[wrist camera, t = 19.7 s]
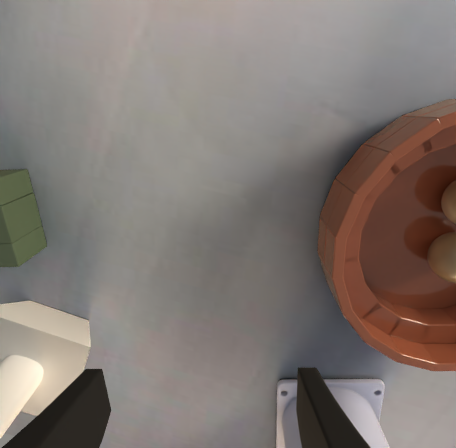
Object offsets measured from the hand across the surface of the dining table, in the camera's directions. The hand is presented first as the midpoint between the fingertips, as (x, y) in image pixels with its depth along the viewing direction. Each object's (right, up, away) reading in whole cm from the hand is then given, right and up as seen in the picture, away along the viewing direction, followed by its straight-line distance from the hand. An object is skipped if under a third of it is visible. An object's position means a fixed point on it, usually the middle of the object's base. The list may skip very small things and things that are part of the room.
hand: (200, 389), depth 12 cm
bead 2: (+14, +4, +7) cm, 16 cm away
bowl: (+14, +6, +8) cm, 18 cm away
